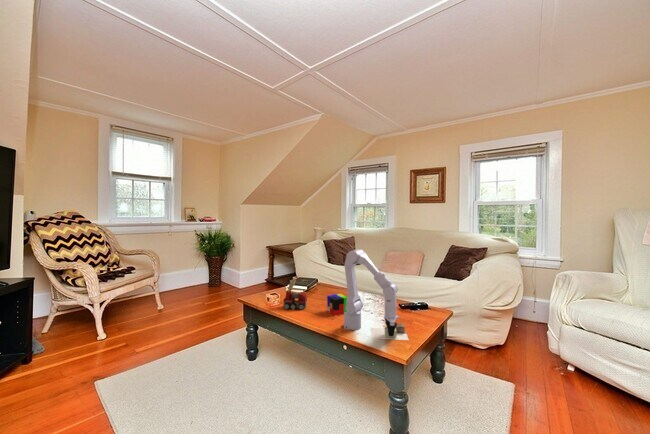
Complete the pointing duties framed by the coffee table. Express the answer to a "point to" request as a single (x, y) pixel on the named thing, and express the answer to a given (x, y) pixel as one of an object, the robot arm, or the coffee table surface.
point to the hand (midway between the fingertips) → (390, 333)
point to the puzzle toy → (336, 304)
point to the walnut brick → (400, 328)
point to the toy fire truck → (290, 298)
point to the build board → (380, 334)
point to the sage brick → (388, 334)
